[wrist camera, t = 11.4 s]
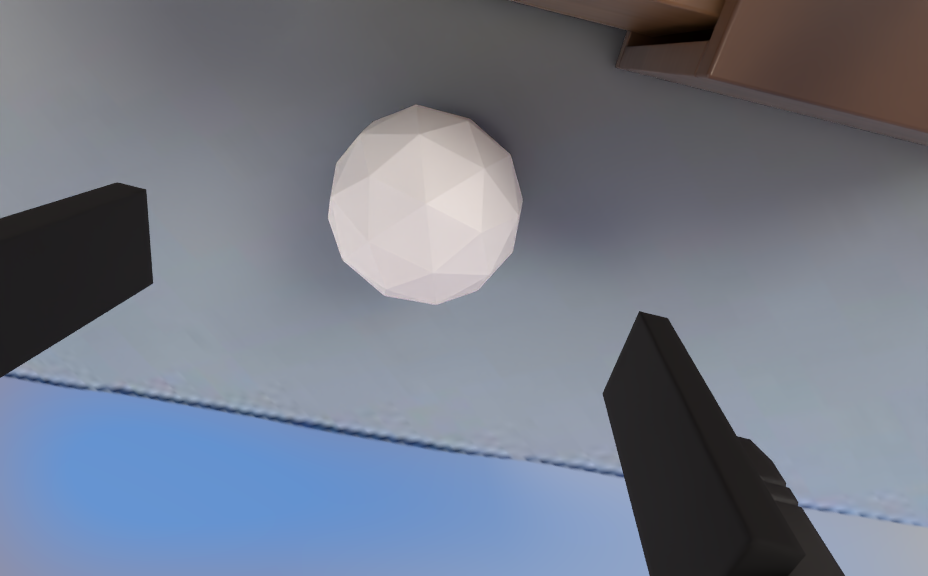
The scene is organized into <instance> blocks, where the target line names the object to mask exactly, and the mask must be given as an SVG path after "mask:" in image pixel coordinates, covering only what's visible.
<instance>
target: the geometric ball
mask: <svg viewBox="0 0 928 576" xmlns="http://www.w3.org/2000/svg"><path fill="white" fill-rule="evenodd" d="M522 203H523V198H522V194H521V190H520V187H519V183H518V179H517V176H516V172H515V168H514V165H513V161H512V158H511V154H509V153H508V152H507V151H506V150H505V149H504V148H503V147H502V146H500V145H499V144H498V143H497V142H496V141H495V140H494V139H493V138H491V137H490V136H489V135H488V134H487V133H486V132H485V131H484V130H483V129H481V128H480V127H479V126H478V125H477V124H476V123H475V122H474V121H472V120H471V119H470V118H466V117H462V116H458V115H455V114H451V113H447V112H443V111H439V110H436V109H432V108H428V107H424V106H420V105H414V106H411V107H408V108H406V109H403V110H401V111H398V112H396V113H393V114H391V115H388V116H386V117H383V118H381V119H378V120H376V121H373V122H372V123H371V124H370V125H369V126H368V127H367V128H366V129H365V130H364V131H363V132H361V133H360V135H359V136H358V137H357V138H356V139H355V141H354V142H353V143H352V144H351V146H350V147H349V148H348V149H347V150H346V152H345V153H344V154H343V155H342V157H341V158H340V159H339V160H338V161H337V163H336V167H335V173H334V179H333V185H332V192H331V198H330V205H329V212H328V220H329V223H330V225H331V228H332V231H333V234H334V237H335V240H336V243H337V246H338V249H339V252H340V254H341V257H342V260H343V261H344V262H345V263H346V264H348V265H349V266H350V267H351V268H352V269H353V270H355V271H356V272H357V273H358V274H359V275H361V276H362V277H363V278H364V279H365V280H366V281H368V282H369V283H370V284H371V285H372V286H373V287H375V288H376V289H377V290H378V291H379V292H380V293H382V294H383V295H384V296H388V297H394V298H400V299H405V300H411V301H417V302H422V303H428V304H434V305H438V304H440V303H443V302H446V301H449V300H452V299H455V298H458V297H461V296H464V295H467V294H469V293H472V292H475V291H478V290H479V289H480V288H481V286H482V285H483V284H484V283H485V282H486V281H487V280H488V279H489V278H490V277H491V275H492V274H493V273H494V272H495V271H496V270H497V269H498V268H499V267H500V266H501V264H502V263H503V262H504V261H505V260H506V259H507V258H508V257H509V256H510V255H511V254H512V252H513V249H514V244H515V239H516V233H517V228H518V223H519V218H520V213H521V208H522Z"/></svg>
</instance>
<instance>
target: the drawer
mask: <svg viewBox="0 0 928 576" xmlns="http://www.w3.org/2000/svg"><path fill="white" fill-rule="evenodd" d="M509 1H513V2H517V3H521V4H525V5H529V6H533V7H537V8H541V9H545V10H549V11H552V12H556V13H560V14H564V15H568V16H572V17H576V18H580V19H584V20H588V21H592V22H596V23H600V24H604V25H608V26H612V27H616V28H620V29H624V30H628V31H632V32H636V33H640V34H643V35H647V36H651V37H656V36H661V35H669V34H676V33H684V32H691V31H699V30H706V29H714V28H715V26H716V23H717V21H718V19H719V16H720V14H721V11H722V9H723V6H724V4H725V1H726V0H509Z"/></svg>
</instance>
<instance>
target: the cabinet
mask: <svg viewBox="0 0 928 576" xmlns="http://www.w3.org/2000/svg"><path fill="white" fill-rule="evenodd" d="M615 67H616V68H619V69H623V70H627V71H631V72H635V73H639V74H643V75H647V76H651V77H655V78H659V79H663V80H667V81H670V82H674V83H678V84H682V85H686V86H690V87H694V88H698V89H702V90H706V91H710V92H714V93H718V94H722V95H726V96H730V97H734V98H738V99H742V100H746V101H750V102H754V103H758V104H762V105H766V106H770V107H774V108H778V109H782V110H786V111H790V112H794V113H798V114H802V115H806V116H810V117H814V118H818V119H822V120H826V121H830V122H834V123H838V124H842V125H846V126H850V127H854V128H857V129H861V130H865V131H869V132H873V133H877V134H881V135H885V136H889V137H893V138H897V139H901V140H905V141H909V142H913V143H917V144H921V145H925V146H928V0H726V1H725V4H724V6H723V9H722V11H721V14H720V16H719V19H718V21H717V23H716V26H715V28H714V29H706V30H699V31H691V32H684V33H676V34H669V35H661V36H656V37H651V36H647V35H643V34H640V33H636V32H632V31H628V30H627V32H626V36H625V39H624V42H623V45H622V48H621V51H620V54H619V57H618V60H617V63H616V66H615Z"/></svg>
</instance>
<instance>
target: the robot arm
mask: <svg viewBox="0 0 928 576" xmlns="http://www.w3.org/2000/svg"><path fill="white" fill-rule="evenodd" d="M151 284H153V275H152V261H151V248H150V234H149V221H148V208H147V194H146V189H142V188H138V187H134V186H130V185H126V184H121V183H114V184H110V185H107V186H104V187H101V188H97V189H94V190H91V191H88V192H84V193H81V194H78V195H75V196H72V197H68V198H65V199H62V200H59V201H55V202H52V203H49V204H46V205H42V206H39V207H36V208H33V209H29V210H26V211H23V212H20V213H17V214H13V215H10V216H7V217H4V218H0V378H1V377H2V376H4V375H5V374H7V373H9V372H10V371H12V370H14V369H15V368H17V367H18V366H20V365H22V364H23V363H25V362H27V361H28V360H30V359H31V358H33V357H35V356H36V355H38V354H40V353H41V352H43V351H44V350H46V349H48V348H49V347H51V346H52V345H54V344H56V343H57V342H59V341H61V340H62V339H64V338H65V337H67V336H69V335H70V334H72V333H74V332H75V331H77V330H78V329H80V328H82V327H83V326H85V325H86V324H88V323H90V322H91V321H93V320H95V319H96V318H98V317H99V316H101V315H103V314H104V313H106V312H108V311H109V310H111V309H112V308H114V307H116V306H117V305H119V304H120V303H122V302H124V301H125V300H127V299H129V298H130V297H132V296H133V295H135V294H137V293H138V292H140V291H142V290H143V289H145V288H146V287H148V286H150V285H151ZM603 397H604V401H605V404H606V408H607V412H608V416H609V420H610V424H611V428H612V432H613V435H614V439H615V443H616V447H617V451H618V455H619V459H620V462H621V466H622V470H623V474H624V478H625V481H626V486H627V489H628V493H629V497H630V501H631V505H632V509H633V513H634V516H635V521H636V524H637V528H638V532H639V536H640V540H641V544H642V548H643V551H644V555H645V559H646V563H647V566H648V571H649V575H650V576H845V575H844V573H843V572H842V570H841V569H840V567H839V566H838V564H837V562H836V561H835V559H834V558H833V556H832V554H831V553H830V551H829V550H828V548H827V547H826V545H825V543H824V542H823V540H822V539H821V537H820V536H819V534H818V532H817V531H816V529H815V528H814V526H813V525H812V523H811V521H810V520H809V518H808V517H807V515H806V514H805V512H804V510H803V509H802V507H798V501H797V499H796V498H795V496H794V495H793V493H792V492H791V490H790V488H787V487H786V482H785V481H784V479H783V477H782V476H781V474H780V473H779V471H778V470H777V468H776V466H775V465H774V463H773V462H772V460H771V459H769V458H768V457H767V456H766V455H765V454H764V453H763V452H762V451H761V450H760V449H759V448H758V447H757V446H756V445H755V444H754V443H753V442H752V441H751V440H750V439H746V438H742V437H738V436H736V434H735V432H734V431H733V429H732V427H731V426H730V424H729V422H728V420H727V419H726V417H725V415H724V414H723V412H722V410H721V408H720V407H719V405H718V403H717V402H716V400H715V398H714V396H713V395H712V393H711V391H710V390H709V388H708V386H707V385H706V383H705V381H704V379H703V378H702V376H701V374H700V373H699V371H698V369H697V367H696V366H695V364H694V362H693V361H692V359H691V357H690V355H689V354H688V352H687V350H686V349H685V347H684V345H683V343H682V342H681V340H680V338H679V337H678V335H677V333H676V331H675V330H674V328H673V326H672V325H671V323H670V321H669V320H668V318H664V317H660V316H656V315H652V314H648V313H644V312H640V311H639V313H638V315H637V318H636V320H635V322H634V324H633V327H632V329H631V331H630V333H629V336H628V338H627V340H626V342H625V345H624V347H623V349H622V351H621V354H620V356H619V358H618V360H617V363H616V365H615V367H614V369H613V371H612V374H611V376H610V378H609V380H608V383H607V385H606V387H605V389H604V392H603Z"/></svg>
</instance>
